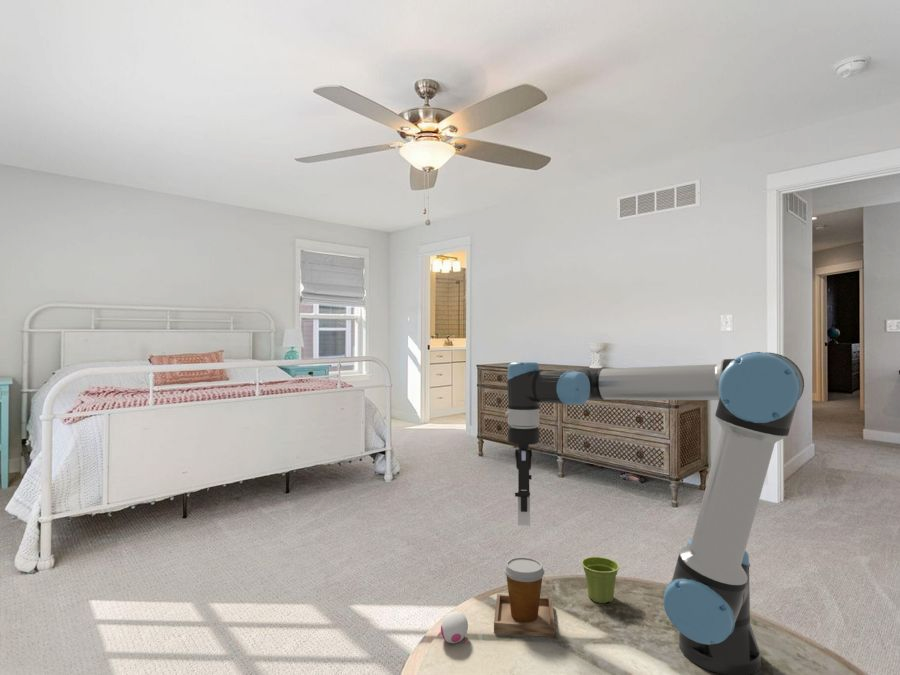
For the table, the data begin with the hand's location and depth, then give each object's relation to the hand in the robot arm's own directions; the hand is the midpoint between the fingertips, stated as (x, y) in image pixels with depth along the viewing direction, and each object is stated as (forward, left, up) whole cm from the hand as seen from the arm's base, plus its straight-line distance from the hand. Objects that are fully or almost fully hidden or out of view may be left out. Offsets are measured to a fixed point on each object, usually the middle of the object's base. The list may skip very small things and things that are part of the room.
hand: (524, 515), depth 120 cm
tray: (0, 0, -25) cm, 25 cm away
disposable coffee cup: (0, 0, -24) cm, 24 cm away
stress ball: (+16, +11, -25) cm, 31 cm away
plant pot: (-19, -13, -25) cm, 34 cm away
